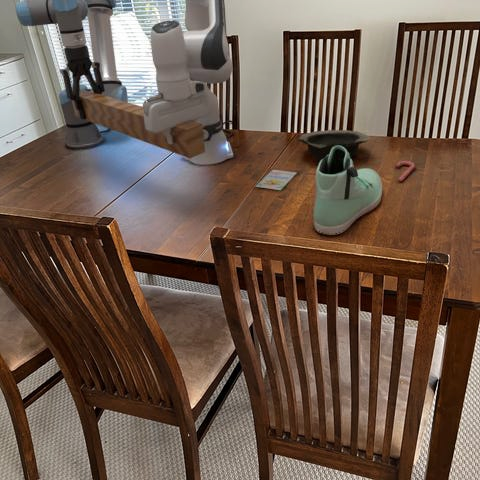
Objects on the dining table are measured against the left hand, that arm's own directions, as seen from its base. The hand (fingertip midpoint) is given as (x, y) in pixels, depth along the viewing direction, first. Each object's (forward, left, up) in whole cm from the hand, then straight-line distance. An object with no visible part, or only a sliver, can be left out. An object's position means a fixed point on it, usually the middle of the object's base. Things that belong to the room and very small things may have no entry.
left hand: (91, 116), depth 168 cm
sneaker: (-39, +84, -20) cm, 95 cm away
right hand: (-6, +51, +2) cm, 52 cm away
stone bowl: (-66, +53, -20) cm, 87 cm away
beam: (-3, +26, -1) cm, 26 cm away
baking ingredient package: (-38, +54, -20) cm, 69 cm away
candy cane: (-70, +80, -20) cm, 108 cm away
